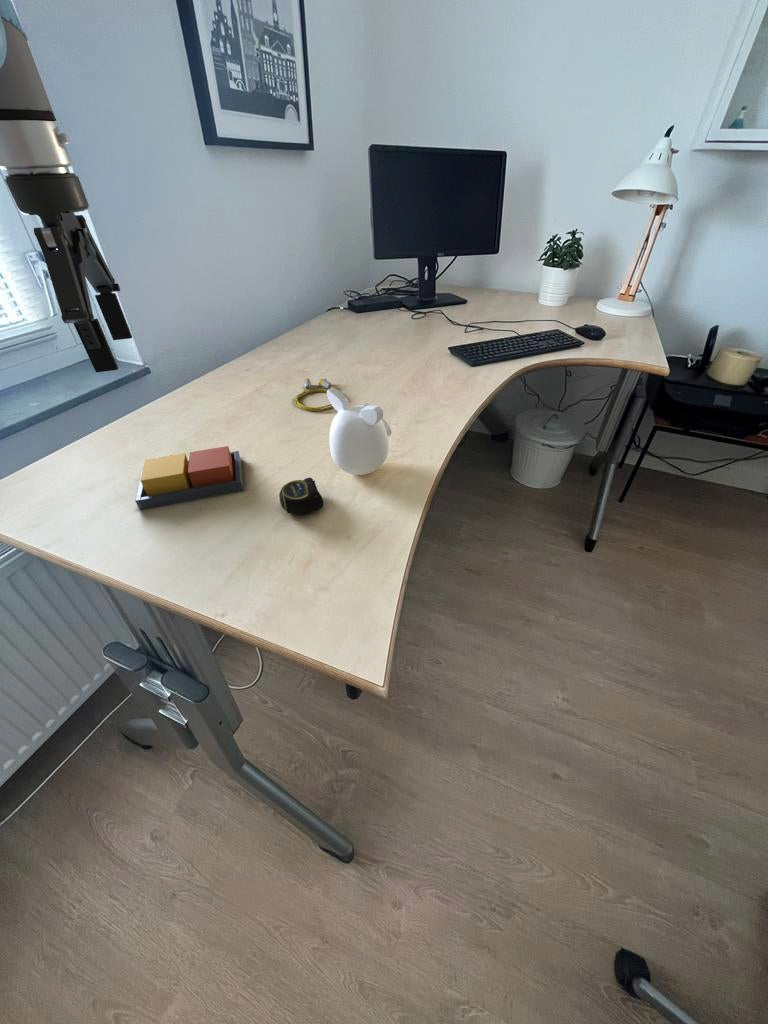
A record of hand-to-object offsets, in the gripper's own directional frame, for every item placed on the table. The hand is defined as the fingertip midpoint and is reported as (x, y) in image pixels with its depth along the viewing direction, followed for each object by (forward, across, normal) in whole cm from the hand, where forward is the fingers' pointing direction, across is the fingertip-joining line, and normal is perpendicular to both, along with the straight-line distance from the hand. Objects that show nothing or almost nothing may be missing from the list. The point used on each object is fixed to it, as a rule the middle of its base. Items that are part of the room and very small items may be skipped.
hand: (115, 353), depth 64 cm
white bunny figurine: (+25, -5, -35) cm, 43 cm away
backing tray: (+25, 0, -4) cm, 25 cm away
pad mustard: (+24, 0, 0) cm, 24 cm away
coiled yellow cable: (+25, +28, -33) cm, 50 cm away
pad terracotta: (+24, 0, -8) cm, 25 cm away
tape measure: (+25, -13, -23) cm, 36 cm away
